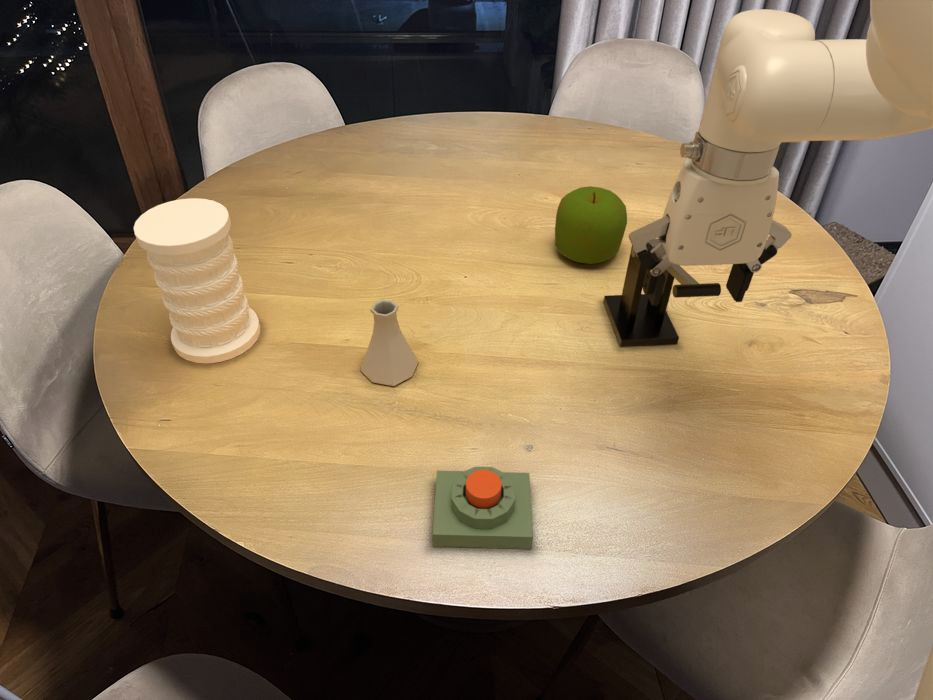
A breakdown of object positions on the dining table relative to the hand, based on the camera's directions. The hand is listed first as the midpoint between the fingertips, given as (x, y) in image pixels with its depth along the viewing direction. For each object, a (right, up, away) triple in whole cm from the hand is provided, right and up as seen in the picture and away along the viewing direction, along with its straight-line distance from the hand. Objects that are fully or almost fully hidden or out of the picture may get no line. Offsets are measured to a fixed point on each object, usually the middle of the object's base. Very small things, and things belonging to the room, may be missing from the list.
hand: (692, 296), depth 77 cm
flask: (-36, -8, +12) cm, 39 cm away
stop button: (-24, -21, -7) cm, 32 cm away
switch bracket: (-1, -2, +19) cm, 19 cm away
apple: (-6, +10, +33) cm, 34 cm away
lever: (0, +3, +6) cm, 7 cm away
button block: (-24, -23, -5) cm, 34 cm away
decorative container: (-60, -4, +16) cm, 62 cm away
